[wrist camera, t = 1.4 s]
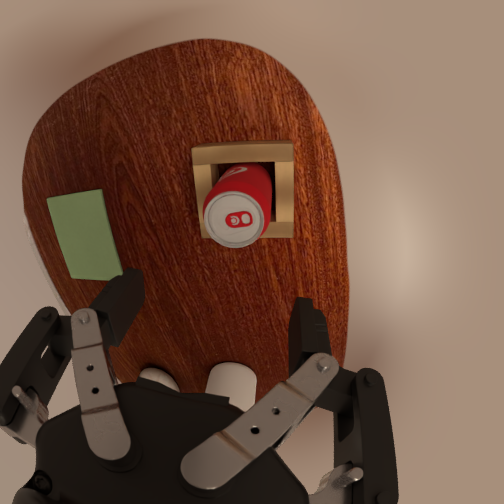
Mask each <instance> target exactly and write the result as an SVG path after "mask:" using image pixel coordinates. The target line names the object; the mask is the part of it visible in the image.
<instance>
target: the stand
mask: <svg viewBox="0 0 504 504" xmlns="http://www.w3.org/2000/svg"><path fill="white" fill-rule="evenodd" d="M191 150H192V160H193V170H194V179H195V188H196V197H197V205H198V213H199V220H200V228H201V235H202V238H212V237H211V236H210V235H209V233H208V232H207V230H206V227H205V224H204V220H203V213H202V211H203V204H204V201H205V198H206V196H207V195H208V193H209V192H210V191H211V189H212V188H213V187H214V186H215V184H216V183H217V182H218V180H219V171H218V164H221V163H242V162H275V191H276V210H271V218H270V223H269V225H268V228H267V229H266V231H265V232H264V234H263V235H262V236H261V237H260V238H293V215H294V162H293V161H294V158H293V143H292V141H291V140H257V141H234V142H219V143H206V144H200V145H198V146H195V147H193V148H192V149H191Z"/></svg>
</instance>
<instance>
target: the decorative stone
mask: <svg viewBox="0 0 504 504" xmlns="http://www.w3.org/2000/svg"><path fill="white" fill-rule="evenodd" d="M140 377H142V378H146V379H149V380H153V381H157V382H160V383H162V384H164V385H166V386H168V387H170V388H172V389H174V390H176V391H178V392H180V391H179V388H178V386H177V384H176V382H175V381H174V380H173V378H172V377H171V376H169V375H168V374H167V373H165V372H164V371H162V370H160V369H157V368H146V369H144V370H143V371H142V372H141V373H140Z"/></svg>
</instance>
